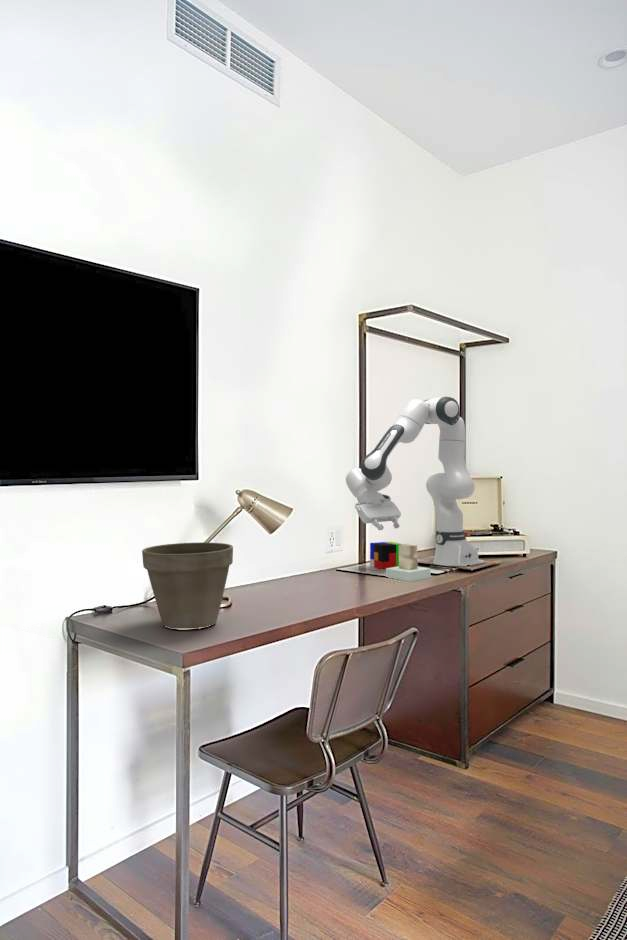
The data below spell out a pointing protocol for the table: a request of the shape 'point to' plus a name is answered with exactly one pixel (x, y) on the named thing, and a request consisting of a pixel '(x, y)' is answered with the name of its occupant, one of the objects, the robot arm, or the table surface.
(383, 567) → the puzzle toy
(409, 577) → the sage base block
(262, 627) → the table surface
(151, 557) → the plant pot
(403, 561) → the maple block
